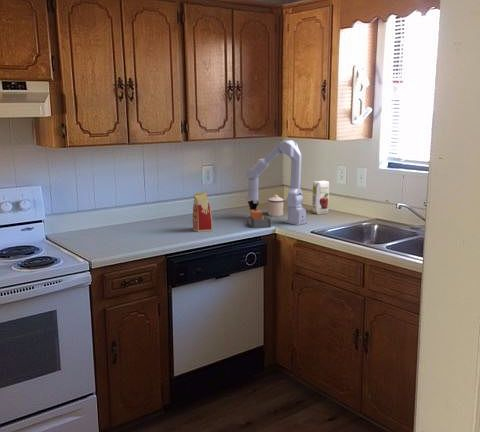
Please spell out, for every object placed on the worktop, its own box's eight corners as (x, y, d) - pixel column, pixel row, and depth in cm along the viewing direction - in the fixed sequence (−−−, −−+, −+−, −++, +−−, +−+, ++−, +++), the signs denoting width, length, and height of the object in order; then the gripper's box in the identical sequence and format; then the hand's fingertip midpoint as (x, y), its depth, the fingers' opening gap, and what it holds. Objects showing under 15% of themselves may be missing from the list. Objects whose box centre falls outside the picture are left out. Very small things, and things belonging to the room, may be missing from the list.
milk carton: (207, 227, 274) (207, 188, 270) (213, 230, 265) (213, 191, 261) (190, 228, 271) (190, 189, 267) (195, 232, 262) (195, 192, 258)
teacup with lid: (286, 215, 304) (287, 195, 302) (273, 217, 300) (273, 196, 298) (275, 211, 315) (275, 192, 312) (262, 213, 310) (262, 193, 308)
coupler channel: (270, 227, 274) (270, 219, 273) (251, 227, 272) (251, 220, 272) (266, 223, 283) (266, 215, 282) (248, 223, 282) (248, 216, 281)
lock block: (261, 223, 284) (261, 211, 283) (252, 223, 283) (252, 211, 282) (259, 220, 292) (259, 208, 291) (250, 220, 291) (250, 209, 290)
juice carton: (310, 212, 312) (311, 180, 308) (322, 211, 316) (323, 180, 312) (317, 215, 306) (318, 182, 302) (329, 213, 309) (331, 181, 305)
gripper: (244, 188, 299) (243, 211, 302) (248, 192, 285) (248, 216, 288) (256, 187, 300) (256, 211, 303) (261, 191, 286) (260, 216, 289)
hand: (252, 214), depth 296 cm, fingers closed
